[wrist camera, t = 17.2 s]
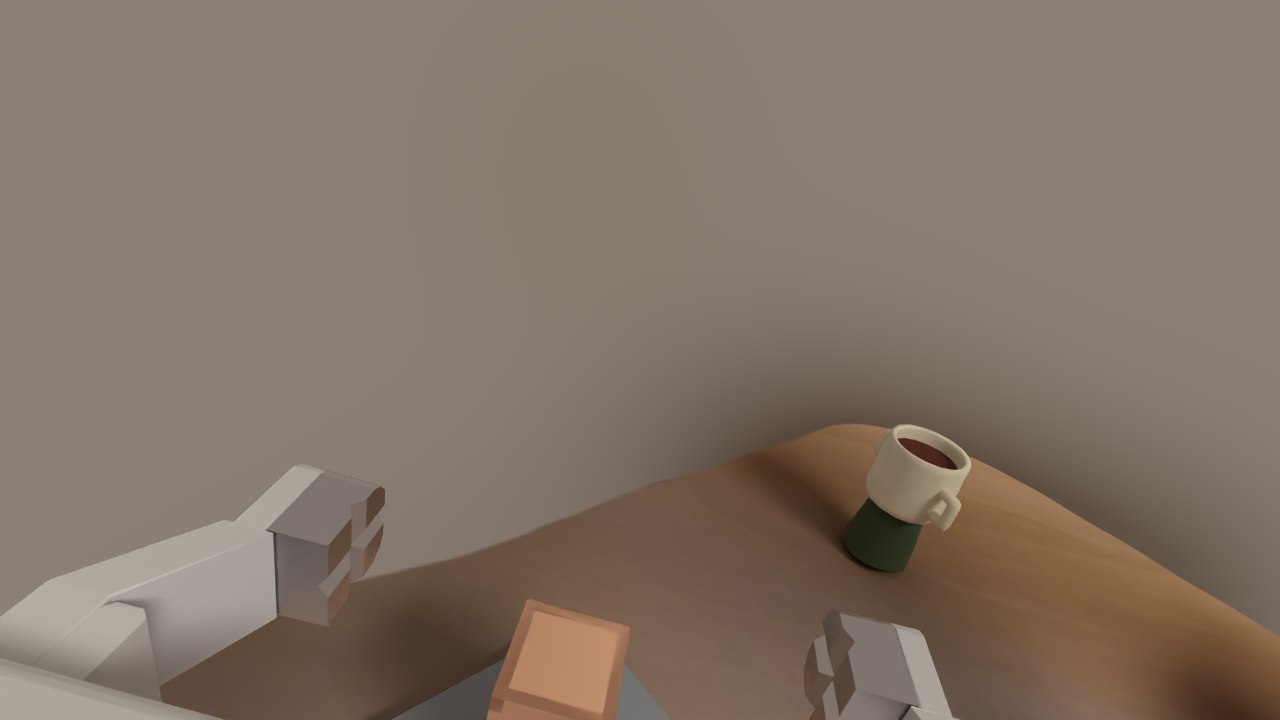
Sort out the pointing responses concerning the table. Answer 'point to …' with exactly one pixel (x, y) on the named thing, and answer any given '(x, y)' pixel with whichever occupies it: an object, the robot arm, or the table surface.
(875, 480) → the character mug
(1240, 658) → the table surface
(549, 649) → the tall lidded tan box
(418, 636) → the table surface
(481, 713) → the base
